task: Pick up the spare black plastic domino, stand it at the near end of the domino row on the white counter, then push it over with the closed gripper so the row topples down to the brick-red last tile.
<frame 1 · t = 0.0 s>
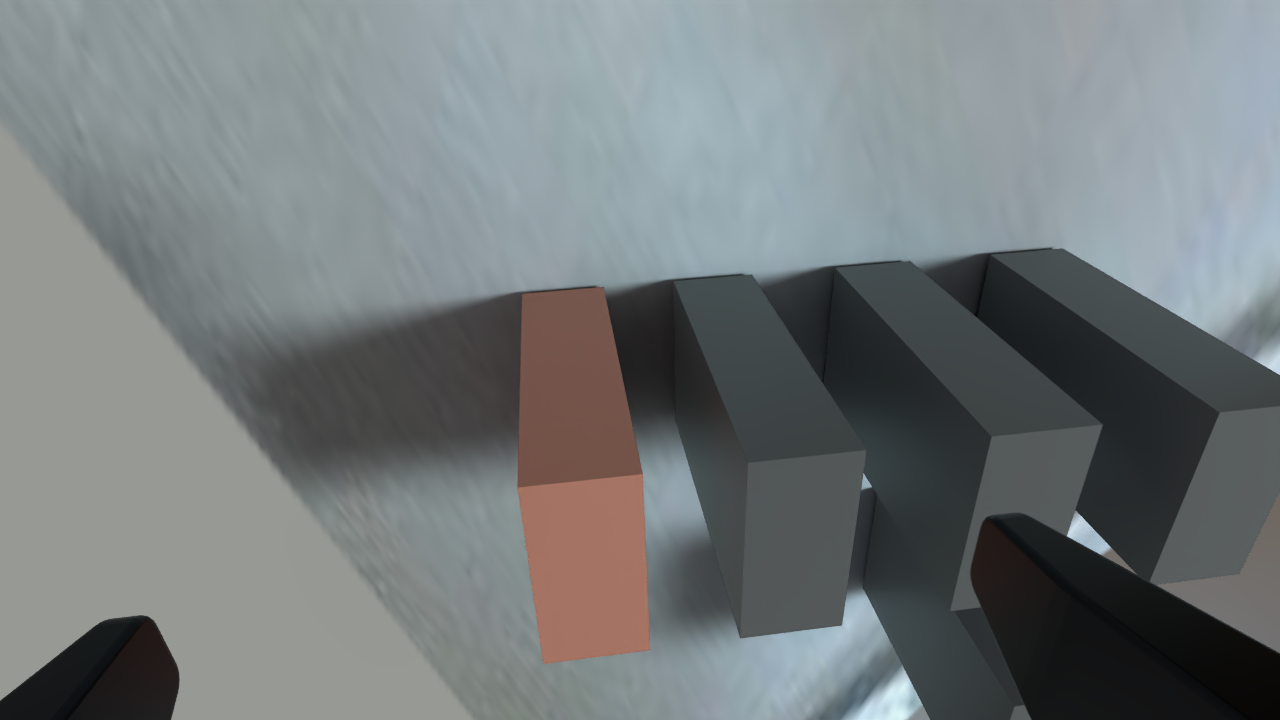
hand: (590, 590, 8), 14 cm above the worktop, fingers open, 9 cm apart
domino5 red: (569, 363, 23), on the worktop
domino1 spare: (900, 537, 29), on the worktop
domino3: (863, 336, 24), on the worktop
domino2: (1010, 322, 25), on the worktop
domino4: (711, 350, 24), on the worktop
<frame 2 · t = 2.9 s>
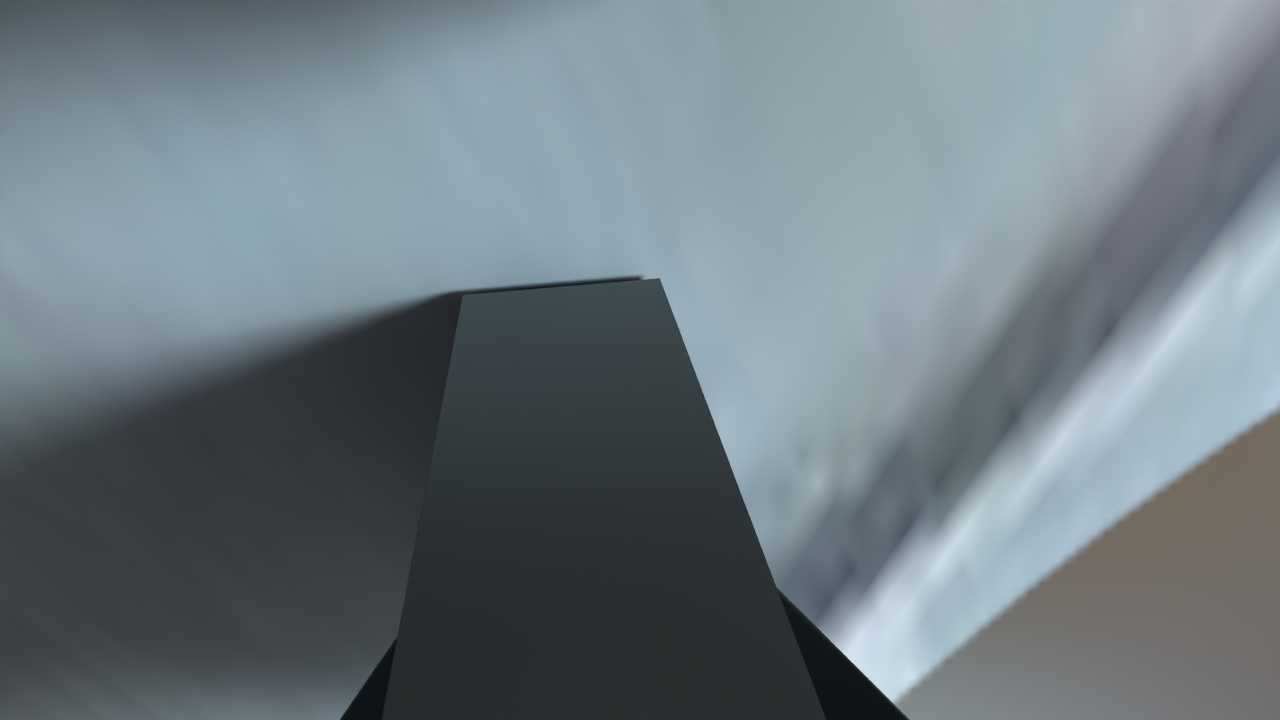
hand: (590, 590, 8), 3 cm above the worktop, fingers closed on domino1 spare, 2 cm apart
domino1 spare: (577, 451, 10), on the worktop, touching gripper
when the fingers open (3 cm above the worktop, at t = 7.5 s): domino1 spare stays where it is, on the worktop.
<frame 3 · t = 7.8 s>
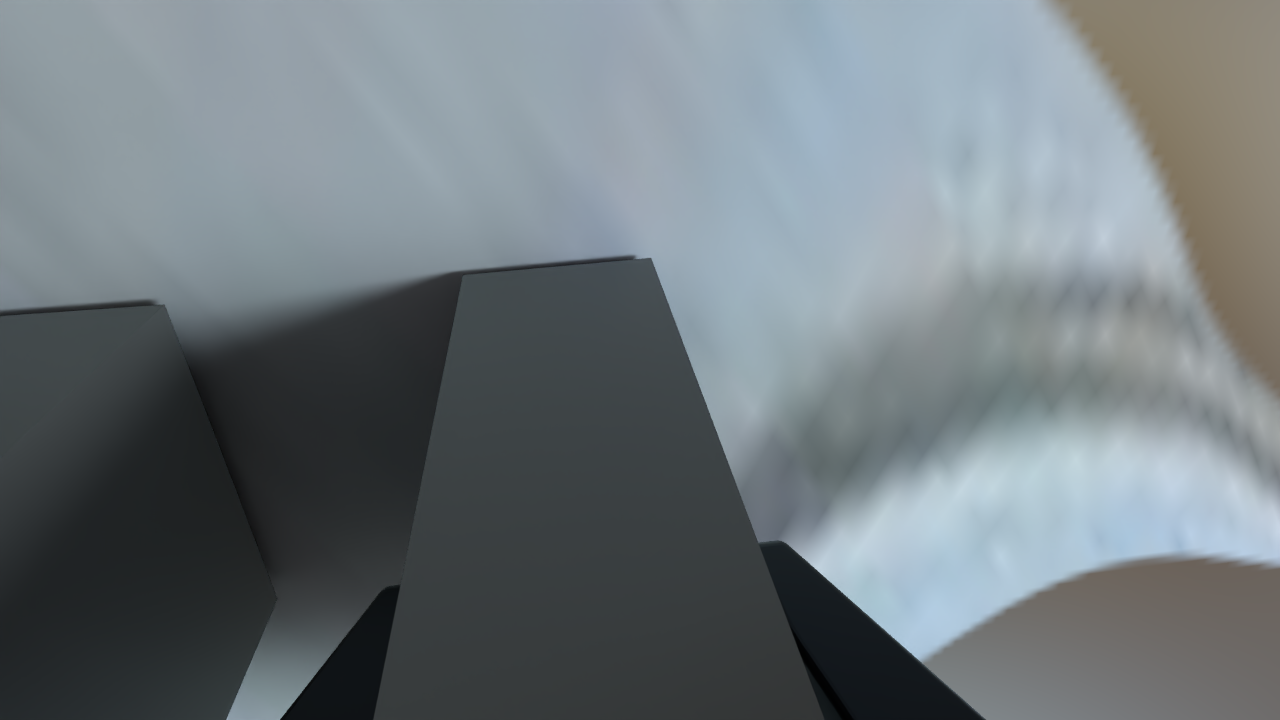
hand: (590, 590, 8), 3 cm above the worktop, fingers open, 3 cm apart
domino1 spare: (575, 427, 11), on the worktop
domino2: (137, 476, 10), on the worktop, touching gripper
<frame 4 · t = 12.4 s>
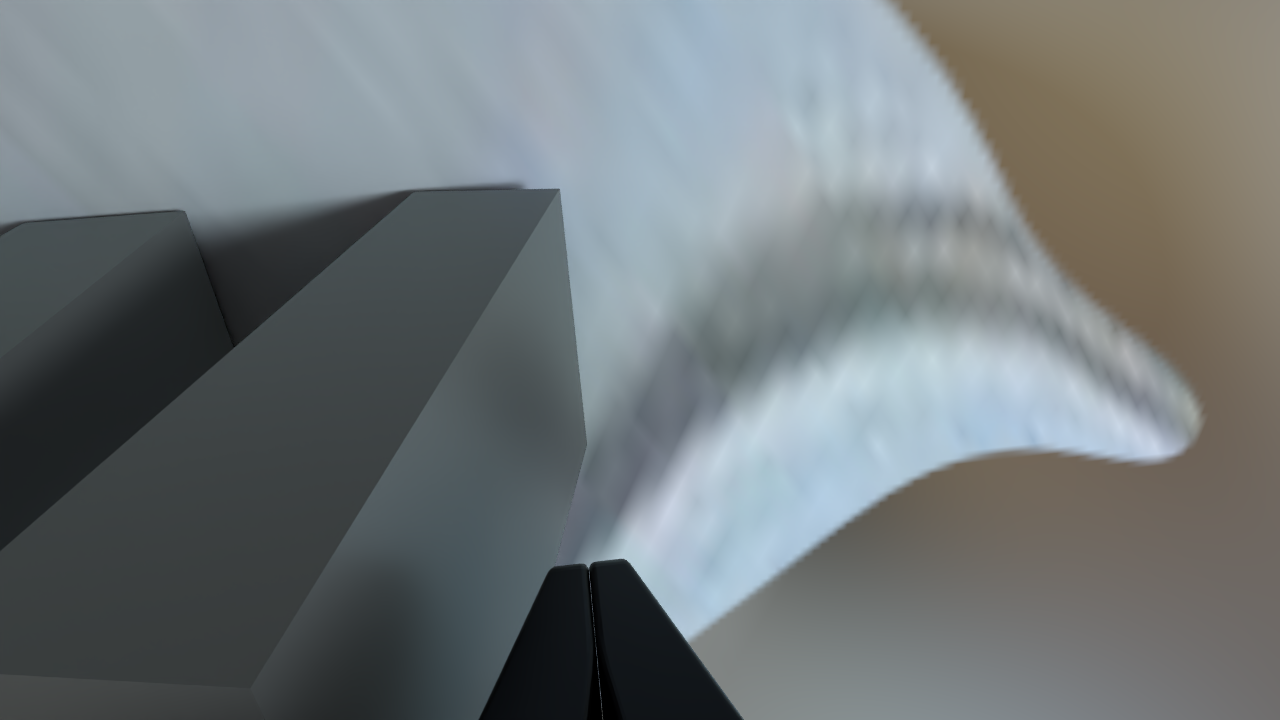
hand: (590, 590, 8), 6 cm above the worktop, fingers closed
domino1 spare: (507, 328, 13), on the worktop, tilted 13°
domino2: (162, 355, 13), on the worktop
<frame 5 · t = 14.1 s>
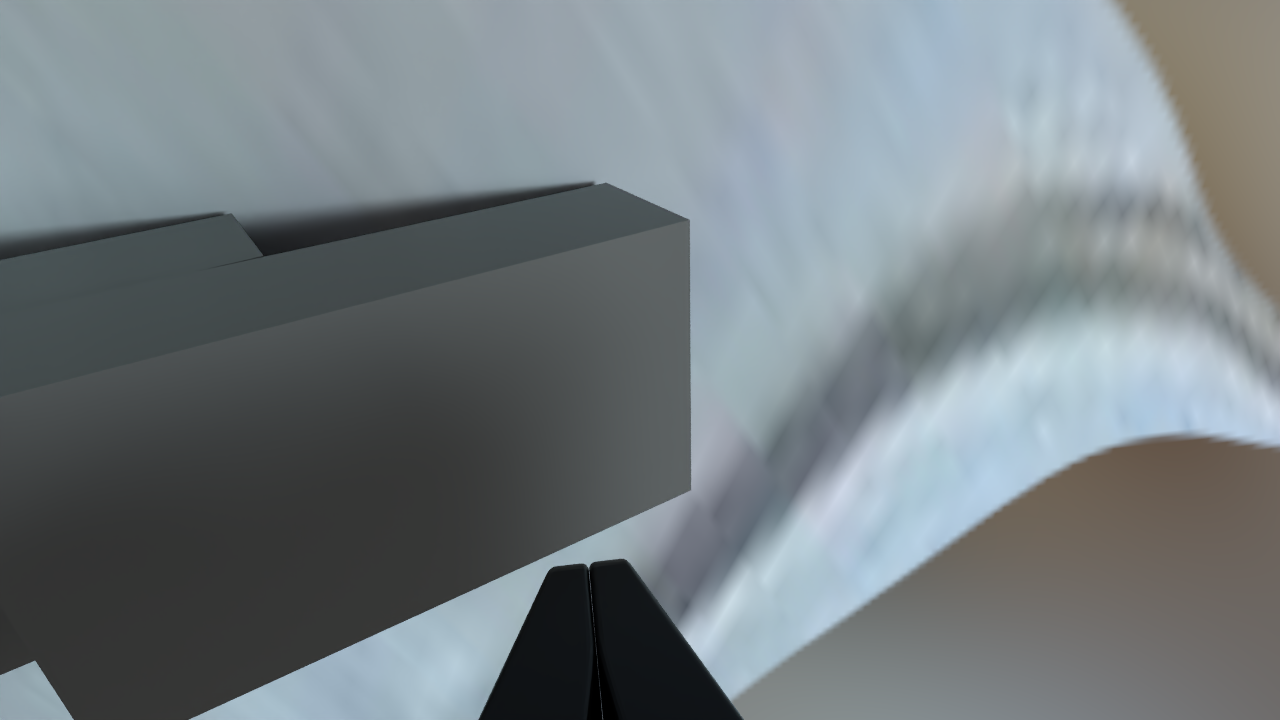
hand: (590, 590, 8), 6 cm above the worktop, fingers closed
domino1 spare: (649, 340, 13), point 1 cm above the worktop, tilted 65°, touching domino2
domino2: (291, 376, 12), point 1 cm above the worktop, tilted 62°, touching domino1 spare, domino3
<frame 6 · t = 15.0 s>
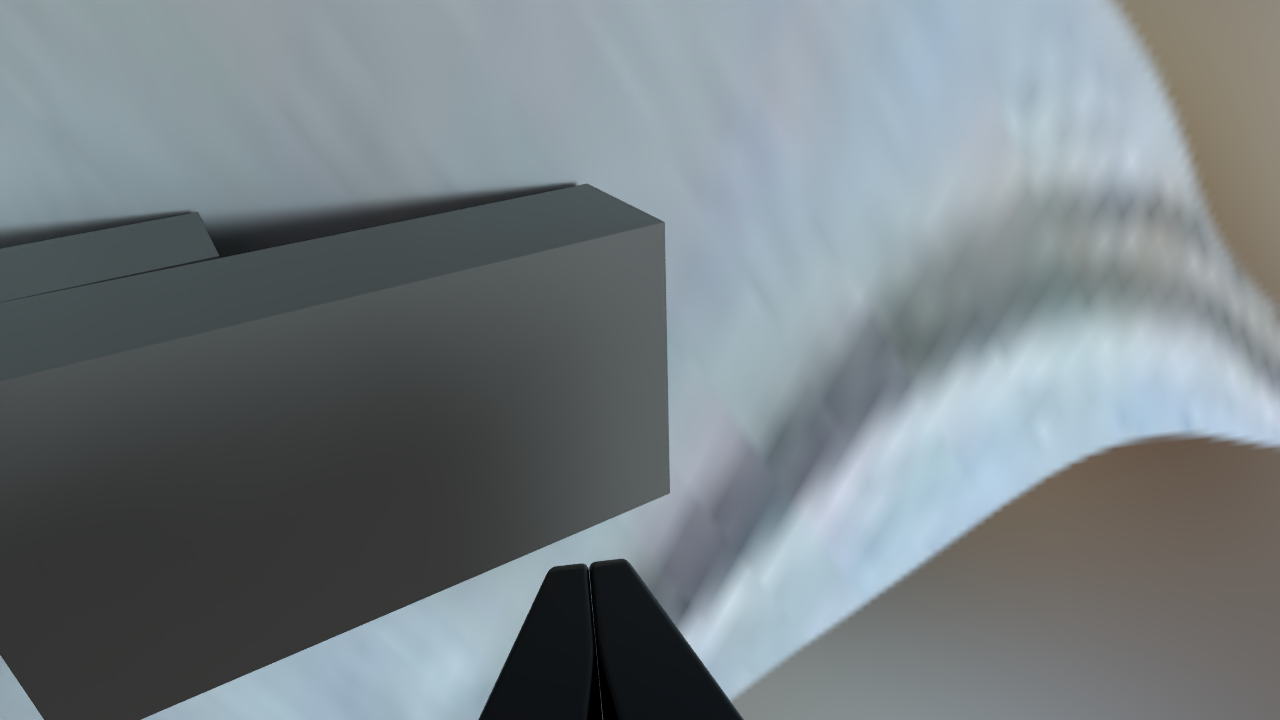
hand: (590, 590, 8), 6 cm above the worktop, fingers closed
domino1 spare: (629, 342, 13), point 1 cm above the worktop, tilted 66°, touching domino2
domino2: (255, 376, 12), point 1 cm above the worktop, tilted 64°, touching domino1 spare, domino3
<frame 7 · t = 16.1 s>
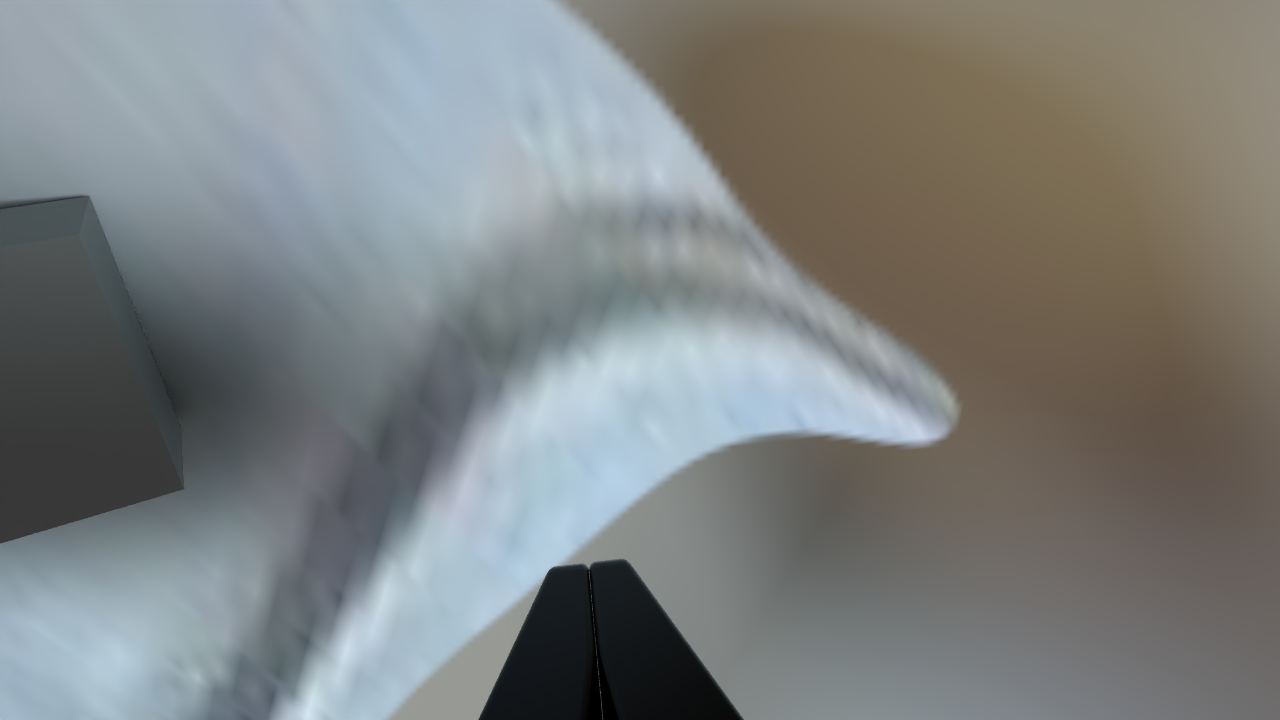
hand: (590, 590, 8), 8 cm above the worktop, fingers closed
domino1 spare: (137, 345, 14), point 1 cm above the worktop, tilted 68°, touching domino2
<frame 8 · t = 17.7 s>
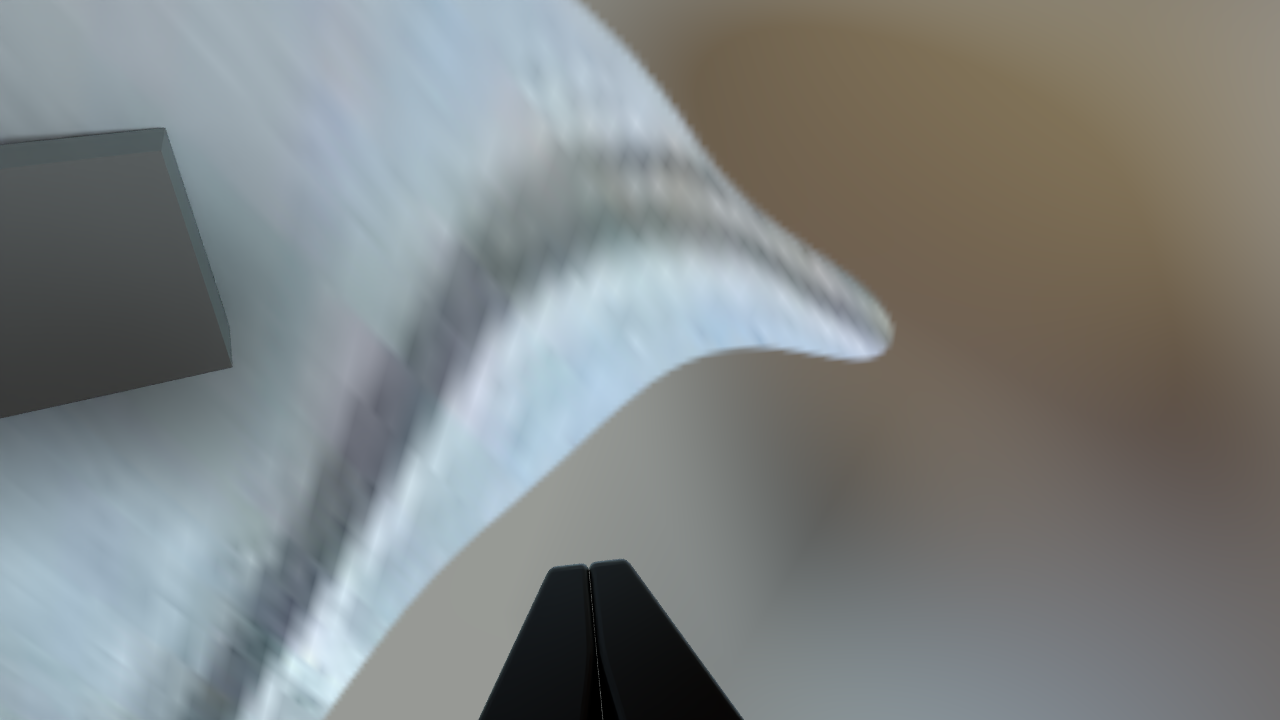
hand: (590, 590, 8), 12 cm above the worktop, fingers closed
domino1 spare: (199, 249, 17), point 1 cm above the worktop, tilted 70°, touching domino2
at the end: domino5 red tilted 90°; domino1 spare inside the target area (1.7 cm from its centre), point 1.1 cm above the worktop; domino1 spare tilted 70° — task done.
